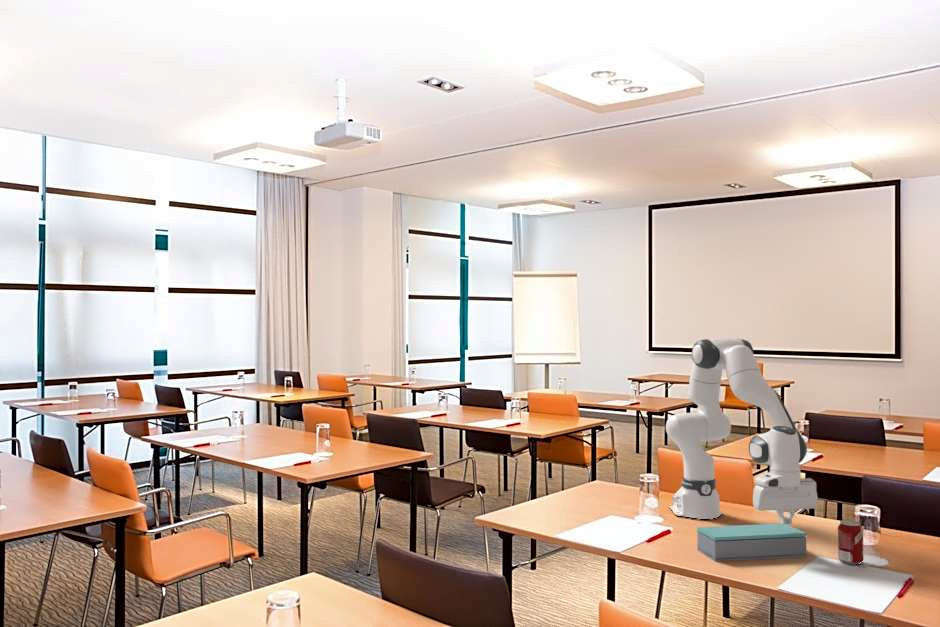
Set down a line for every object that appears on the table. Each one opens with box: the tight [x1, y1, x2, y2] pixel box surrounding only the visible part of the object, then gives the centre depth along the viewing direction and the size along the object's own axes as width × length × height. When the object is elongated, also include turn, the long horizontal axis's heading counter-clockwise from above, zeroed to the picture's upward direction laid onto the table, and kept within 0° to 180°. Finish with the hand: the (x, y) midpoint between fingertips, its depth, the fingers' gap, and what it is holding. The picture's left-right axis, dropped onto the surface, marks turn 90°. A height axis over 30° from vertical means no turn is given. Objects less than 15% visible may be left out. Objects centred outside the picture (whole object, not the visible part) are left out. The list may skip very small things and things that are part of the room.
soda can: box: [837, 519, 865, 565], centre depth 222 cm, size 7×7×12 cm
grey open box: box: [696, 530, 808, 562], centre depth 231 cm, size 12×30×6 cm, turn 98°
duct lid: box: [697, 523, 807, 541], centre depth 231 cm, size 12×30×1 cm, turn 98°
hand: (786, 523), depth 230 cm, fingers closed
